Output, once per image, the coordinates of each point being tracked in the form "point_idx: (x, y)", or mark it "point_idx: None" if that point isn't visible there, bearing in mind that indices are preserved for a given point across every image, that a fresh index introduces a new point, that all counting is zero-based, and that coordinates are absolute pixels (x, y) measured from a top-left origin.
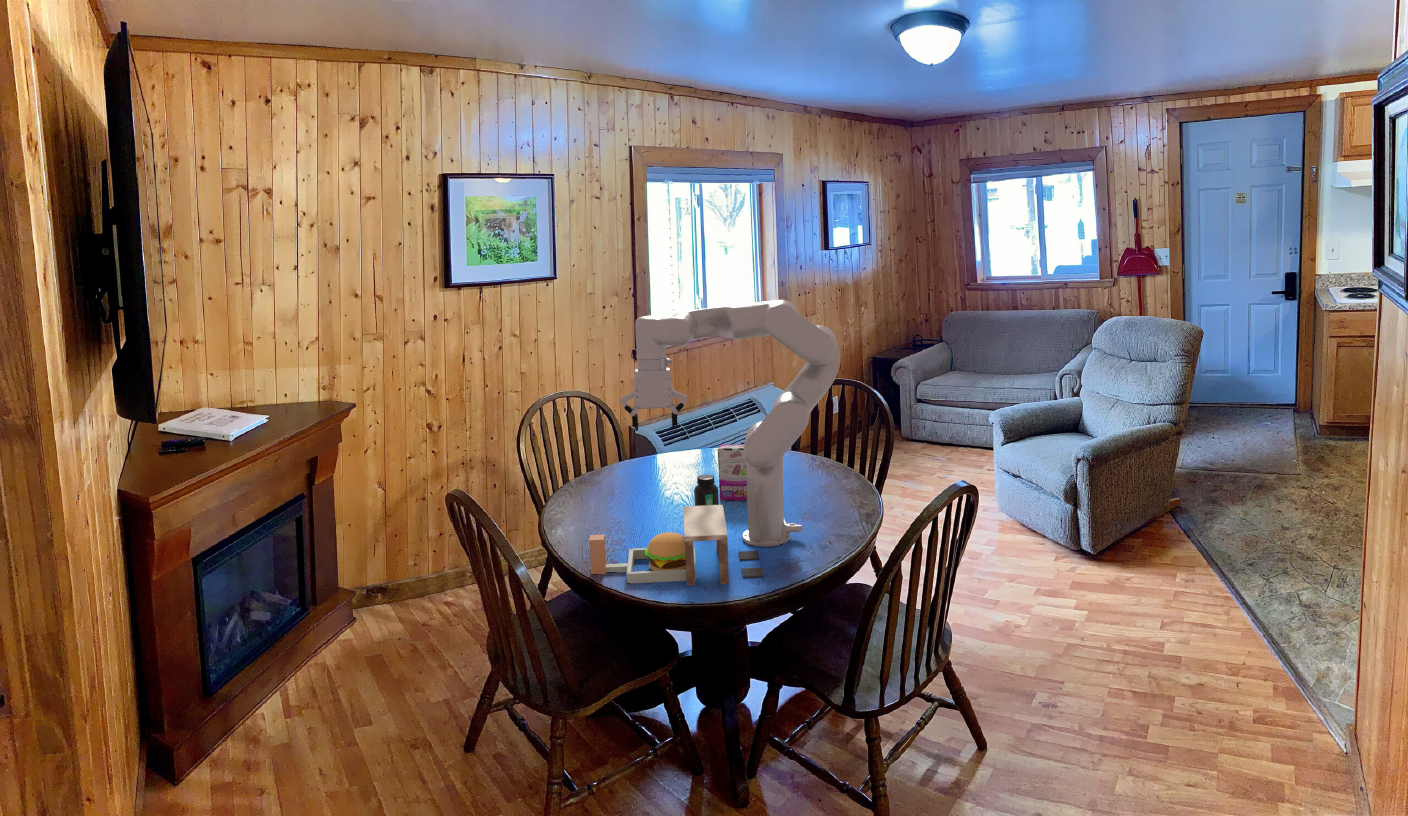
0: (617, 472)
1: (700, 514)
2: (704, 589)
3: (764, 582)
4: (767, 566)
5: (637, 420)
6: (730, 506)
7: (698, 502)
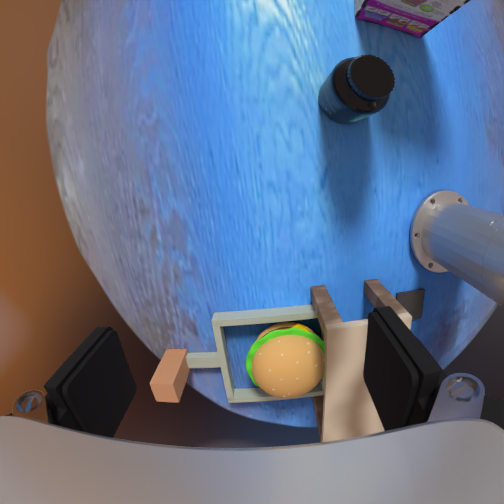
0: None
1: (360, 372)
2: None
3: None
4: (423, 337)
5: (113, 433)
6: (379, 49)
7: (337, 110)
